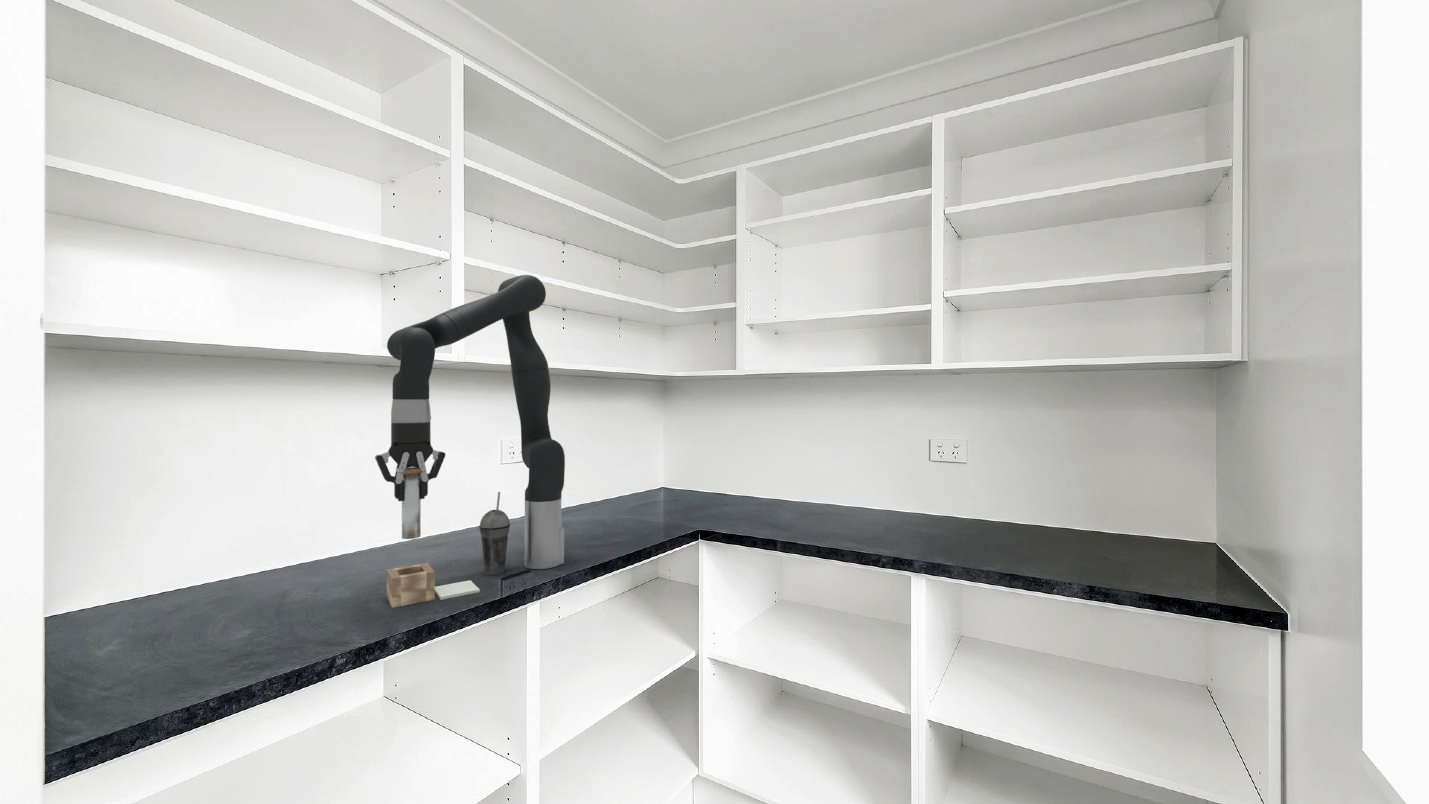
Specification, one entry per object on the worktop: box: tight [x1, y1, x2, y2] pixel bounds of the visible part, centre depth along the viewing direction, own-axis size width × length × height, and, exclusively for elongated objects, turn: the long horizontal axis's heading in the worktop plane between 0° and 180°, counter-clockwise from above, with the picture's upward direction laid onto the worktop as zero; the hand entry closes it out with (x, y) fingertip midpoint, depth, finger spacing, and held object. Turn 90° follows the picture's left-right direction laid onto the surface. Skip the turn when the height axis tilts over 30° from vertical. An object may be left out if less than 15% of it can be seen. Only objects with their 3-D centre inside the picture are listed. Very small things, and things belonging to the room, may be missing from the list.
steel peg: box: [401, 467, 423, 540], centre depth 120 cm, size 5×5×15 cm
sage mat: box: [435, 580, 481, 601], centre depth 125 cm, size 8×8×1 cm
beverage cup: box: [478, 491, 511, 576], centre depth 139 cm, size 7×7×20 cm
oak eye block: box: [386, 562, 436, 609], centre depth 120 cm, size 8×8×6 cm
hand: (411, 499), depth 120 cm, fingers closed on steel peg, 3 cm apart
